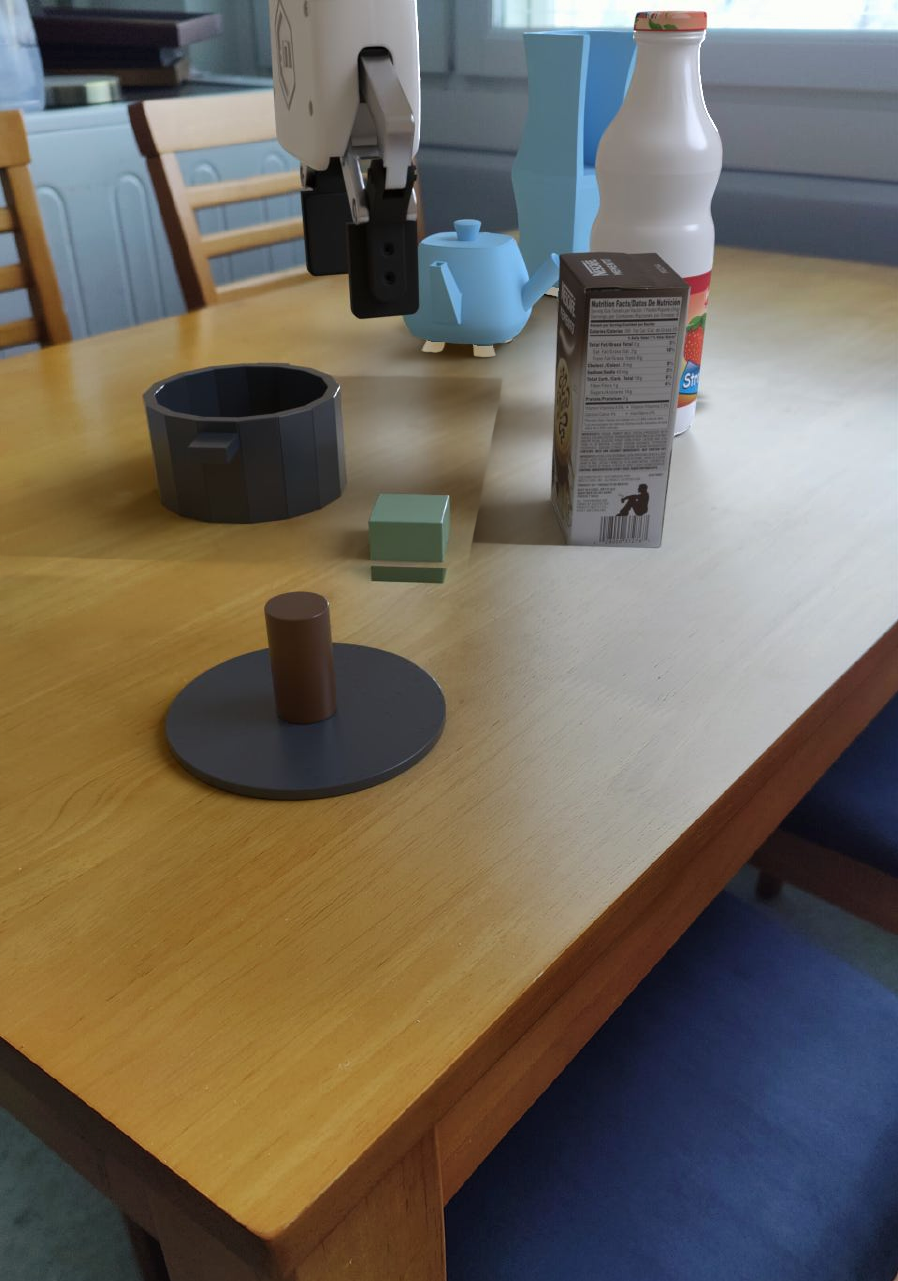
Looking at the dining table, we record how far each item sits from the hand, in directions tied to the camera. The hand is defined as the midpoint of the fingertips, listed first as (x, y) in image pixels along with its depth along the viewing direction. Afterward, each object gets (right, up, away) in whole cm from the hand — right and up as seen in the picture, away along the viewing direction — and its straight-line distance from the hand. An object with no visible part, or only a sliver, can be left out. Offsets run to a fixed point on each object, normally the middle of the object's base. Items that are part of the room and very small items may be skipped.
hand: (359, 293), depth 57 cm
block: (+2, -11, +14) cm, 18 cm away
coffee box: (+15, -7, +20) cm, 26 cm away
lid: (-3, -21, -1) cm, 22 cm away
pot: (-9, -6, +22) cm, 24 cm away
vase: (+19, +35, +77) cm, 87 cm away
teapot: (+6, +20, +56) cm, 60 cm away
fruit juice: (+20, +5, +37) cm, 42 cm away
